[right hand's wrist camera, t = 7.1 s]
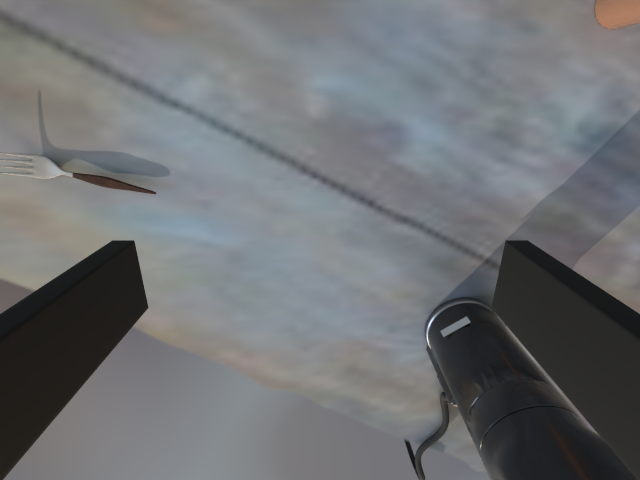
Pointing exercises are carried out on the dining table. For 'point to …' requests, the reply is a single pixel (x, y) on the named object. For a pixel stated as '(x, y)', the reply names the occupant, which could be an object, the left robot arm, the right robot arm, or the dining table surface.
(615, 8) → the bottle
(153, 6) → the dining table surface
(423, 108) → the dining table surface
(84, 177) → the fork
